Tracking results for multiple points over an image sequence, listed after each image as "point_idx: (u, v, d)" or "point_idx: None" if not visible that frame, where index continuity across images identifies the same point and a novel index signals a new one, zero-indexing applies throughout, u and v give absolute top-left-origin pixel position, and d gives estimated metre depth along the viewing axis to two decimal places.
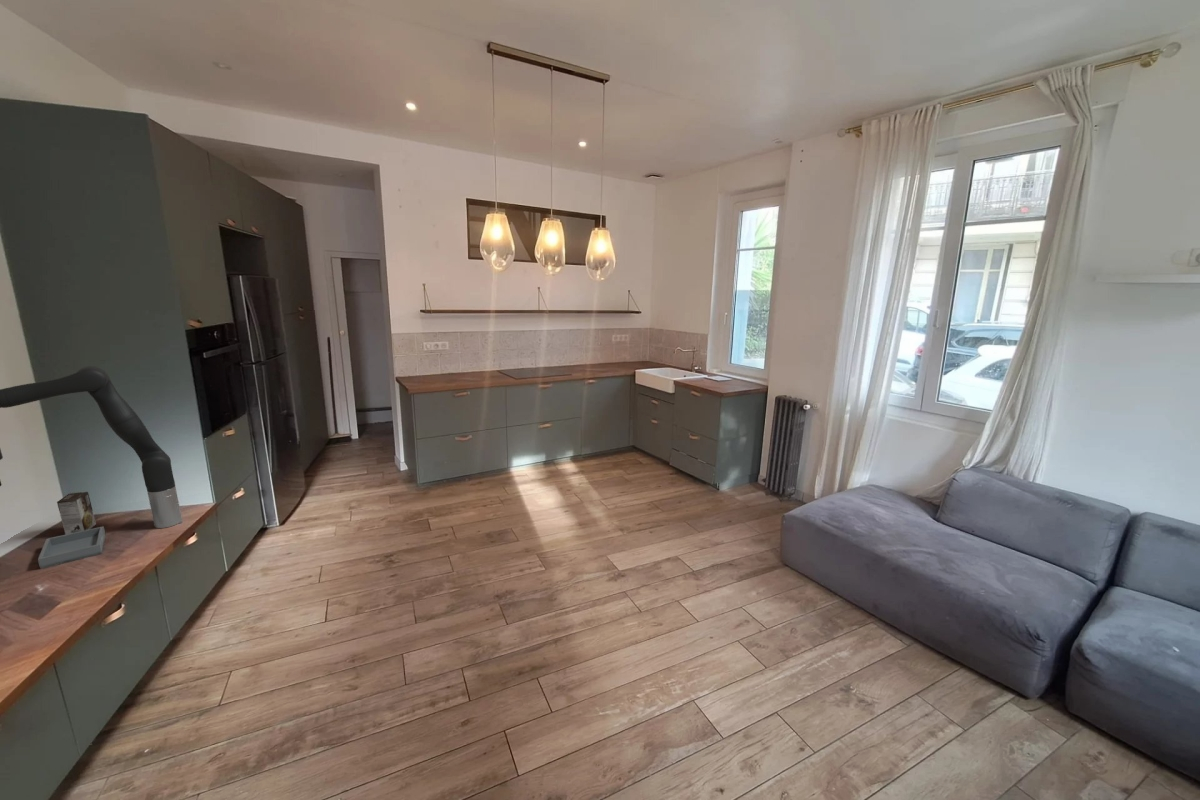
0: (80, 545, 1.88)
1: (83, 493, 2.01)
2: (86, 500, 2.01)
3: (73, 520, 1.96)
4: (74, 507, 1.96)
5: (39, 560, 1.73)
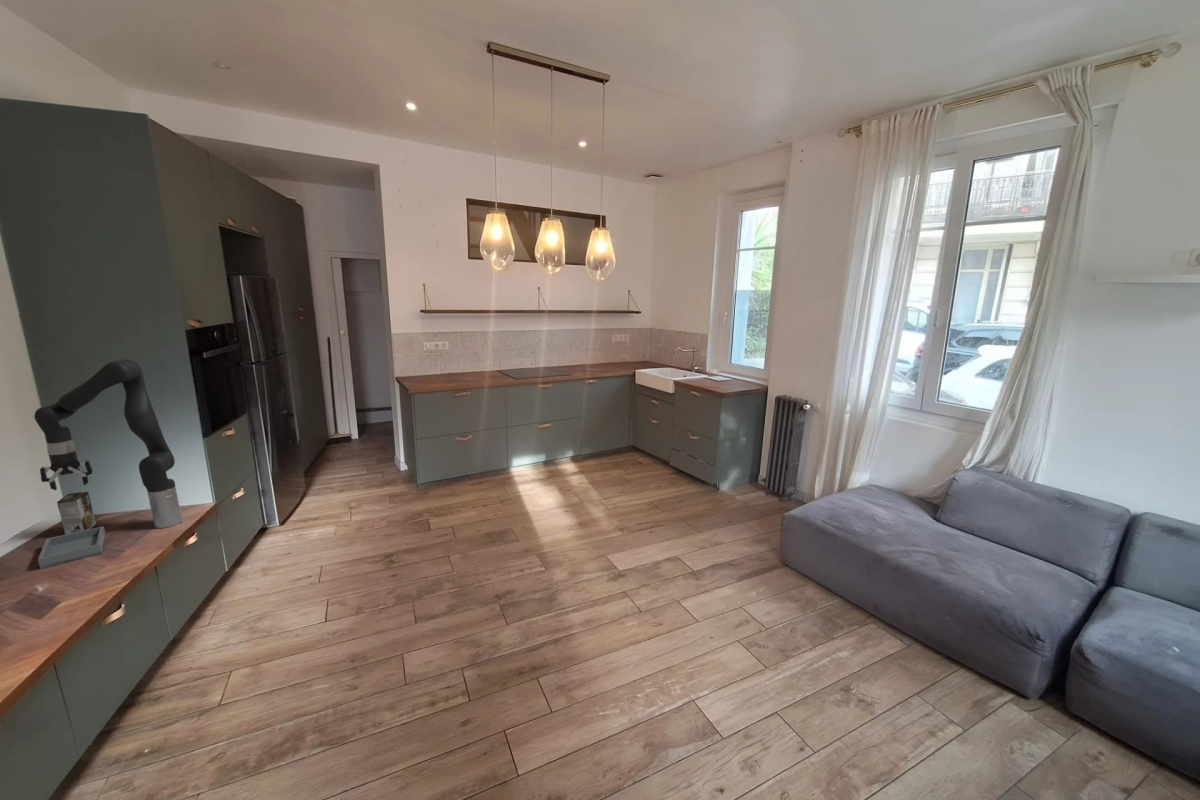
0: (80, 545, 1.88)
1: (83, 493, 2.01)
2: (86, 500, 2.01)
3: (73, 520, 1.96)
4: (74, 507, 1.96)
5: (39, 560, 1.73)
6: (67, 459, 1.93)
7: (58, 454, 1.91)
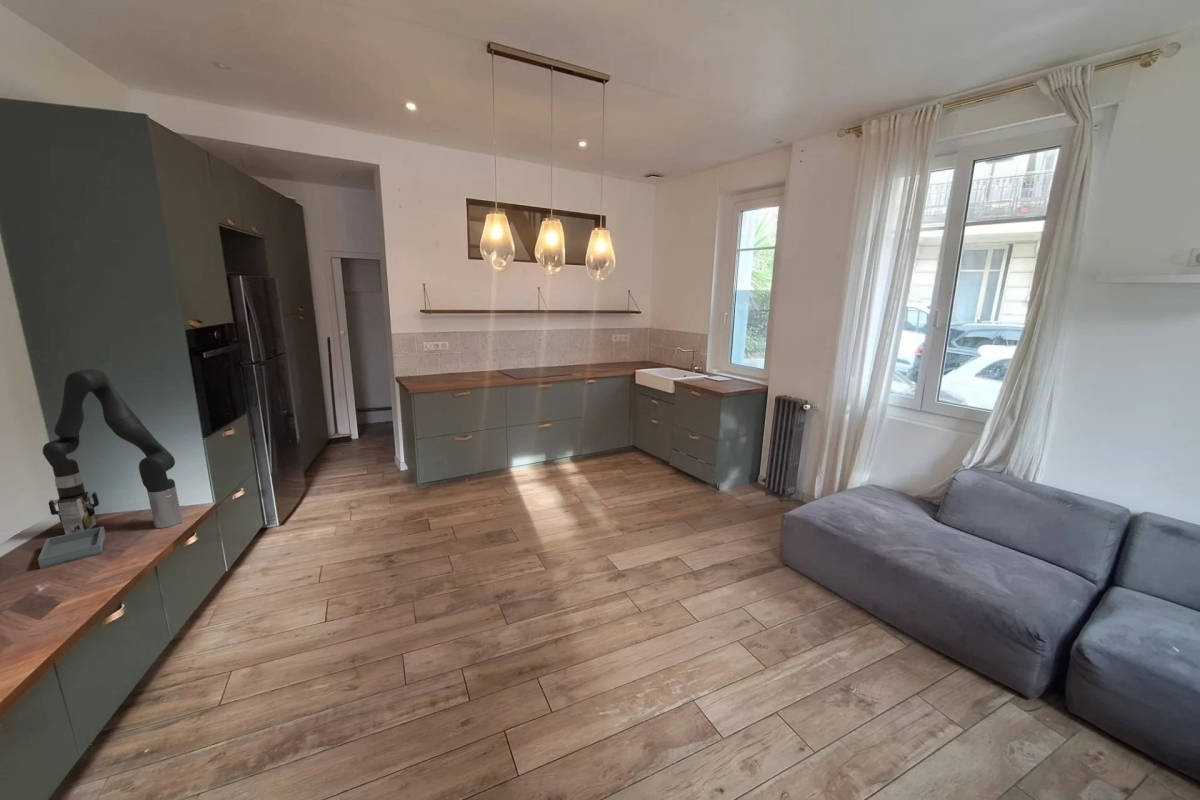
0: (80, 545, 1.88)
1: None
2: (86, 500, 2.01)
3: (73, 520, 1.96)
4: (74, 507, 1.96)
5: (39, 560, 1.73)
6: (75, 492, 1.96)
7: (66, 487, 1.94)
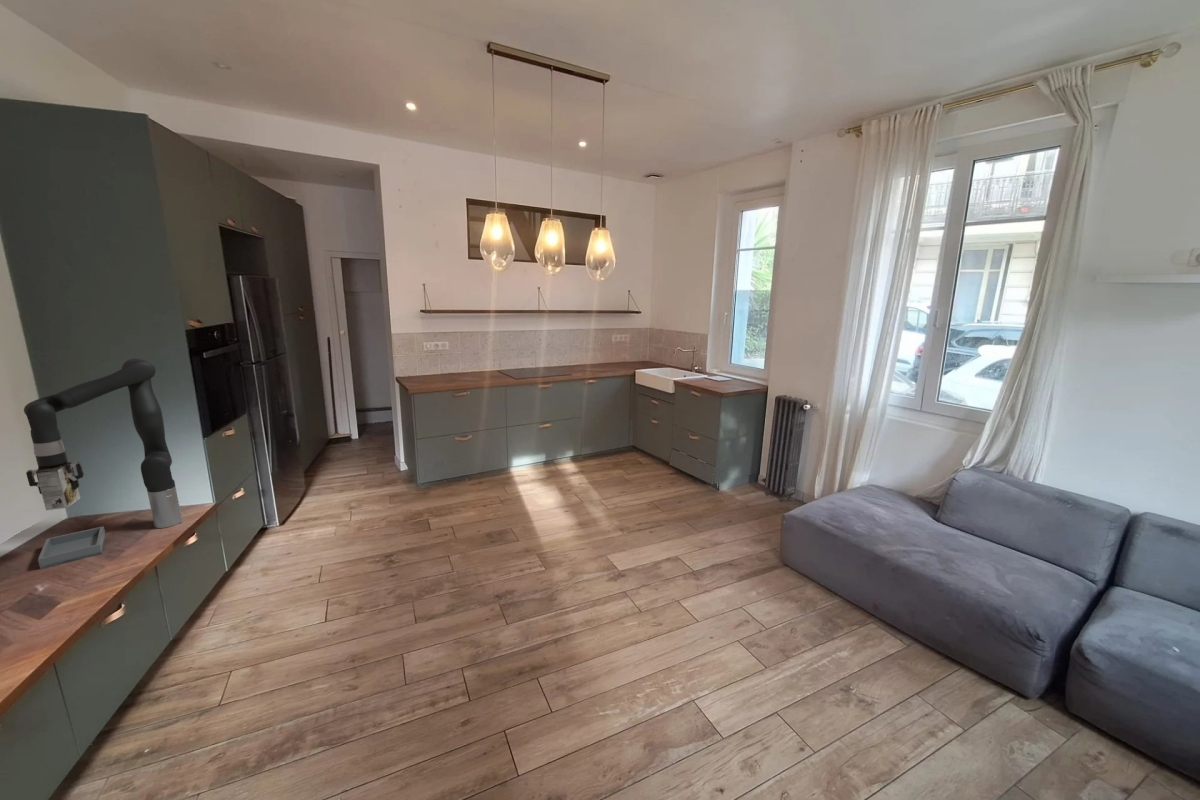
0: (80, 545, 1.88)
1: None
2: (69, 471, 1.82)
3: (54, 492, 1.77)
4: (55, 478, 1.76)
5: (39, 560, 1.73)
6: (56, 461, 1.76)
7: (46, 455, 1.74)
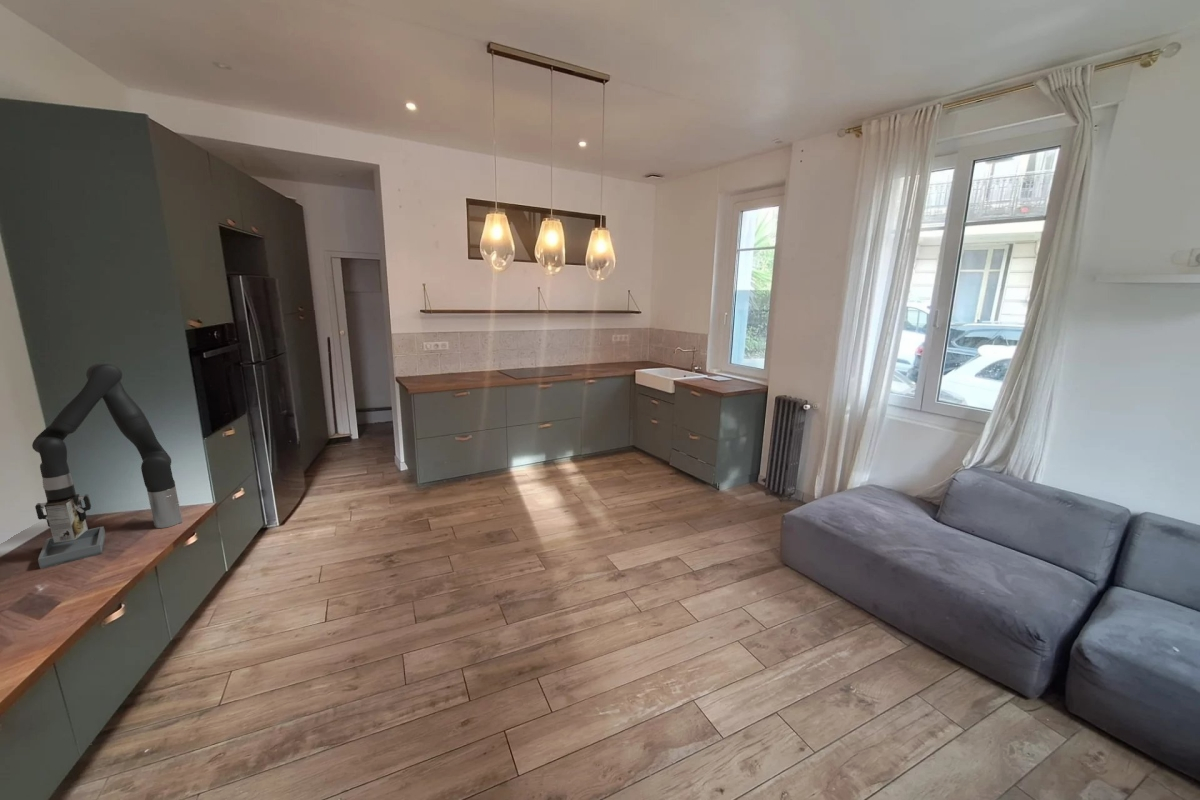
0: (80, 545, 1.88)
1: None
2: (77, 504, 1.85)
3: (62, 525, 1.80)
4: (63, 511, 1.79)
5: (39, 560, 1.73)
6: (64, 494, 1.79)
7: (54, 489, 1.77)
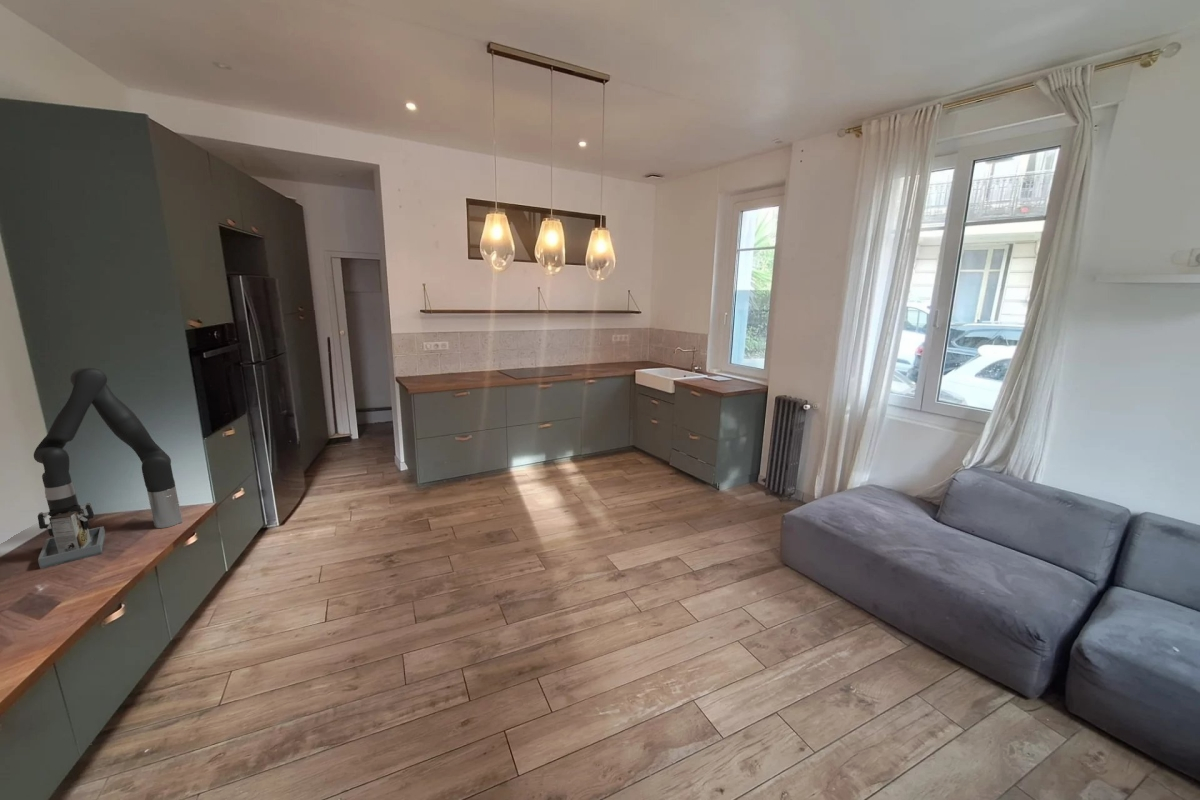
0: None
1: None
2: None
3: (67, 537, 1.81)
4: (68, 523, 1.80)
5: (39, 560, 1.73)
6: (67, 504, 1.80)
7: (57, 499, 1.78)
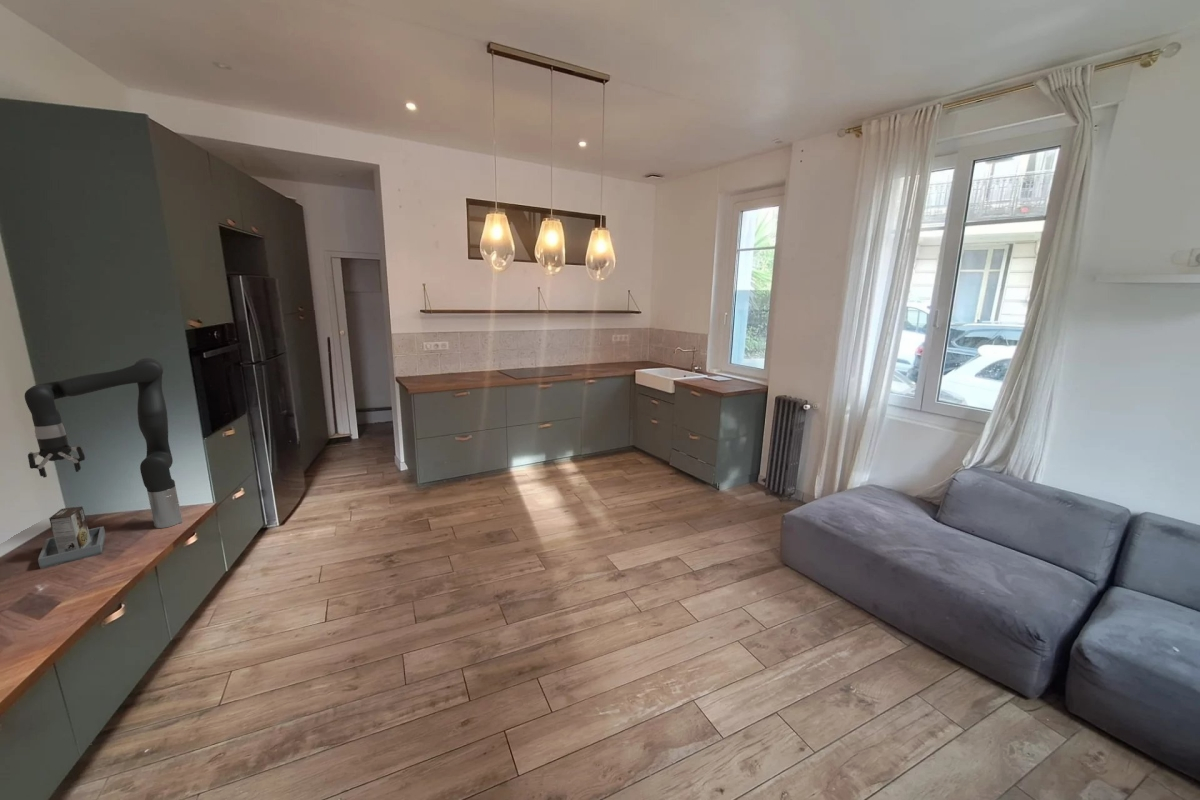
0: None
1: (77, 508, 1.86)
2: (81, 516, 1.86)
3: (67, 537, 1.81)
4: (68, 523, 1.80)
5: (39, 560, 1.73)
6: (57, 444, 1.79)
7: (47, 438, 1.77)
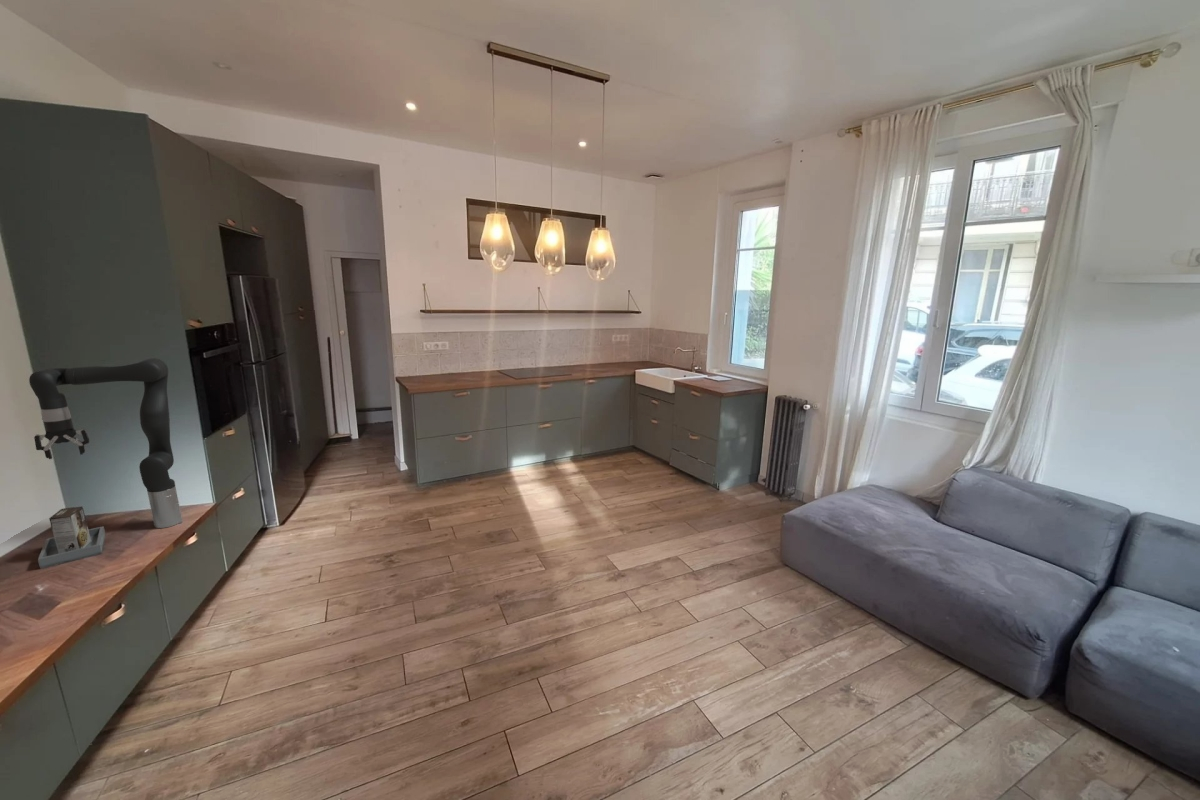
0: None
1: (77, 508, 1.86)
2: (81, 516, 1.86)
3: (67, 537, 1.81)
4: (68, 523, 1.80)
5: (39, 560, 1.73)
6: (62, 426, 1.85)
7: (53, 421, 1.83)
